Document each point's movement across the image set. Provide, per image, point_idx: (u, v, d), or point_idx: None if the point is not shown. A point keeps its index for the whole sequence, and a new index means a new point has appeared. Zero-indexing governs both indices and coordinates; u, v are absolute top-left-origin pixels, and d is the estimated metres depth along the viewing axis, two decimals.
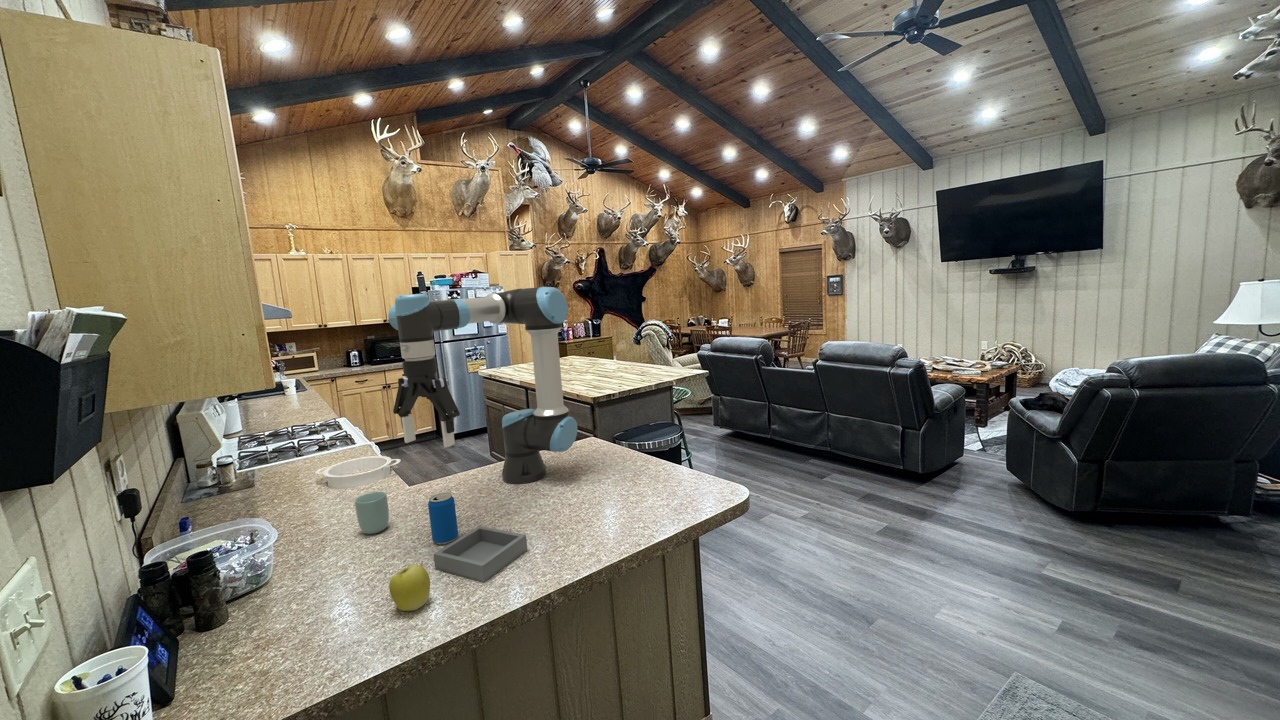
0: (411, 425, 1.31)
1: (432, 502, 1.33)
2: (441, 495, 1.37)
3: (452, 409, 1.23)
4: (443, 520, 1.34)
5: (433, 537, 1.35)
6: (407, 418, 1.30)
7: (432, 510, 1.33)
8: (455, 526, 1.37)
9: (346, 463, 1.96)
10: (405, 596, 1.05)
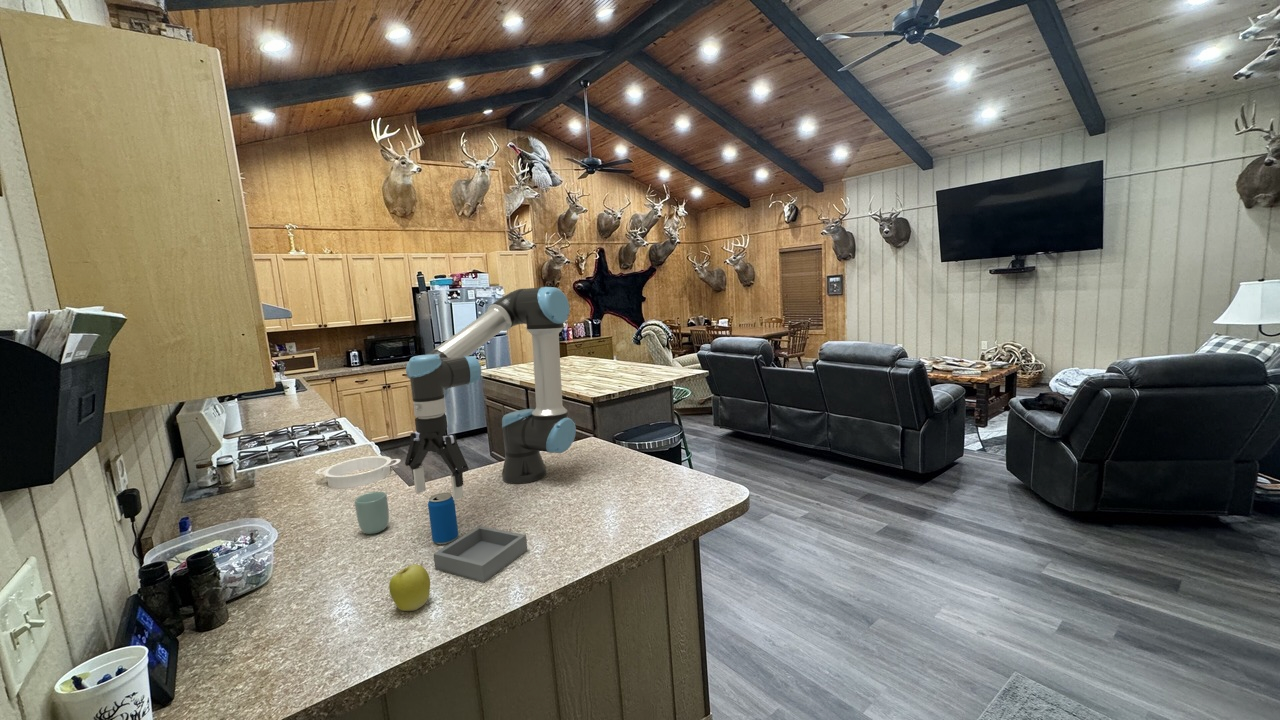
0: (422, 476, 1.38)
1: (432, 502, 1.33)
2: (441, 495, 1.37)
3: (462, 465, 1.30)
4: (443, 520, 1.34)
5: (433, 537, 1.35)
6: (418, 470, 1.37)
7: (432, 510, 1.33)
8: (455, 526, 1.37)
9: (346, 463, 1.96)
10: (405, 596, 1.05)
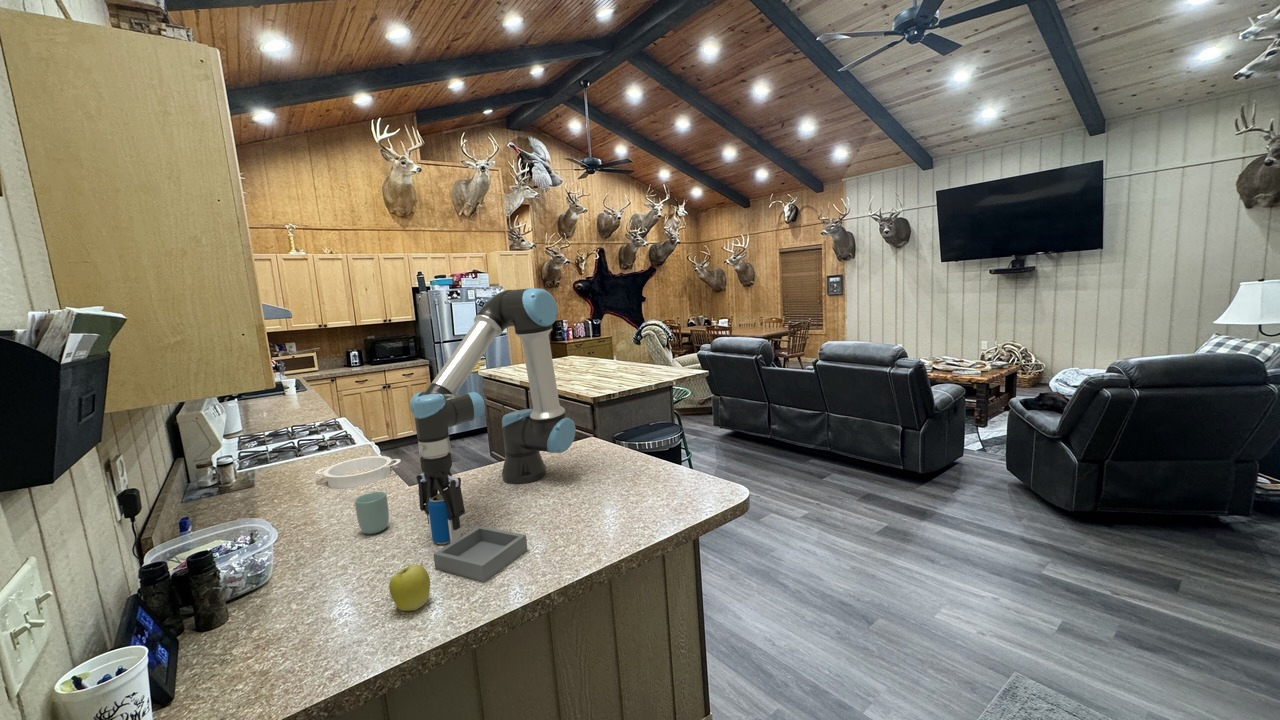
0: None
1: (432, 502, 1.33)
2: (441, 495, 1.37)
3: (460, 510, 1.33)
4: (443, 520, 1.34)
5: (433, 537, 1.35)
6: None
7: (432, 510, 1.33)
8: None
9: (346, 463, 1.96)
10: (405, 596, 1.05)
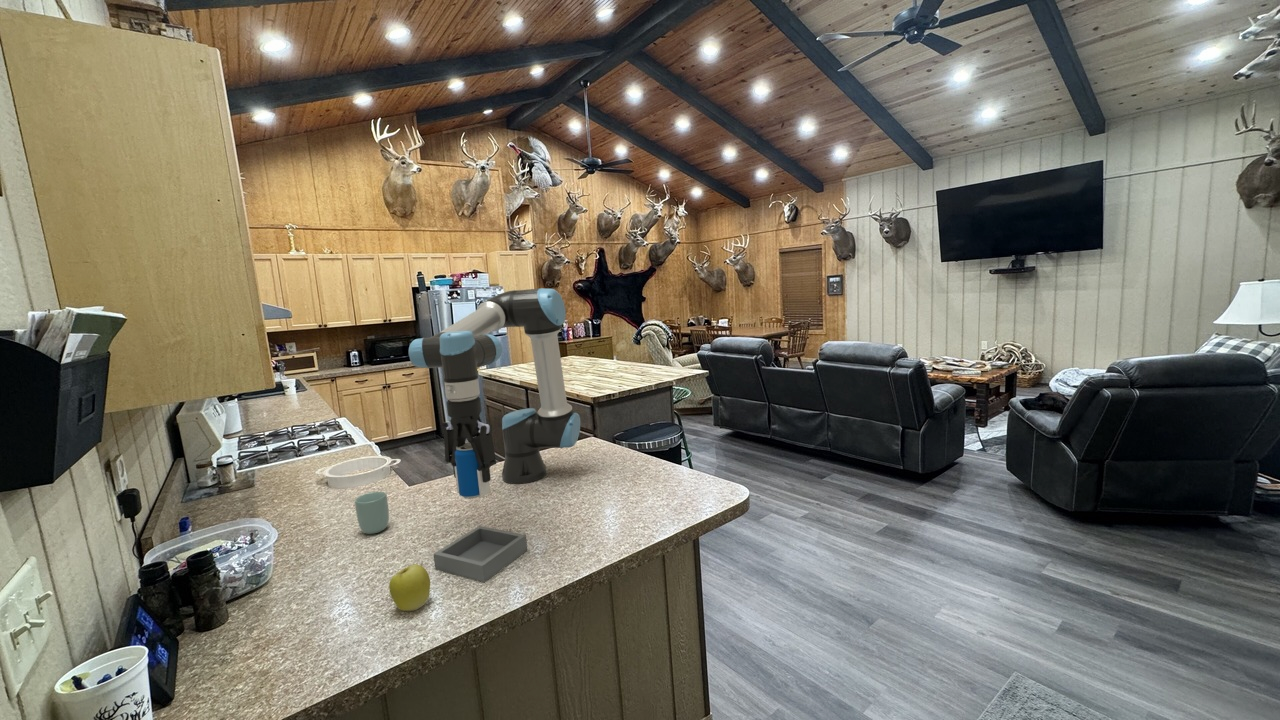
0: None
1: (460, 451, 1.20)
2: (469, 445, 1.24)
3: (491, 459, 1.19)
4: (472, 471, 1.20)
5: (460, 490, 1.21)
6: None
7: (460, 459, 1.19)
8: None
9: (346, 463, 1.96)
10: (405, 596, 1.05)
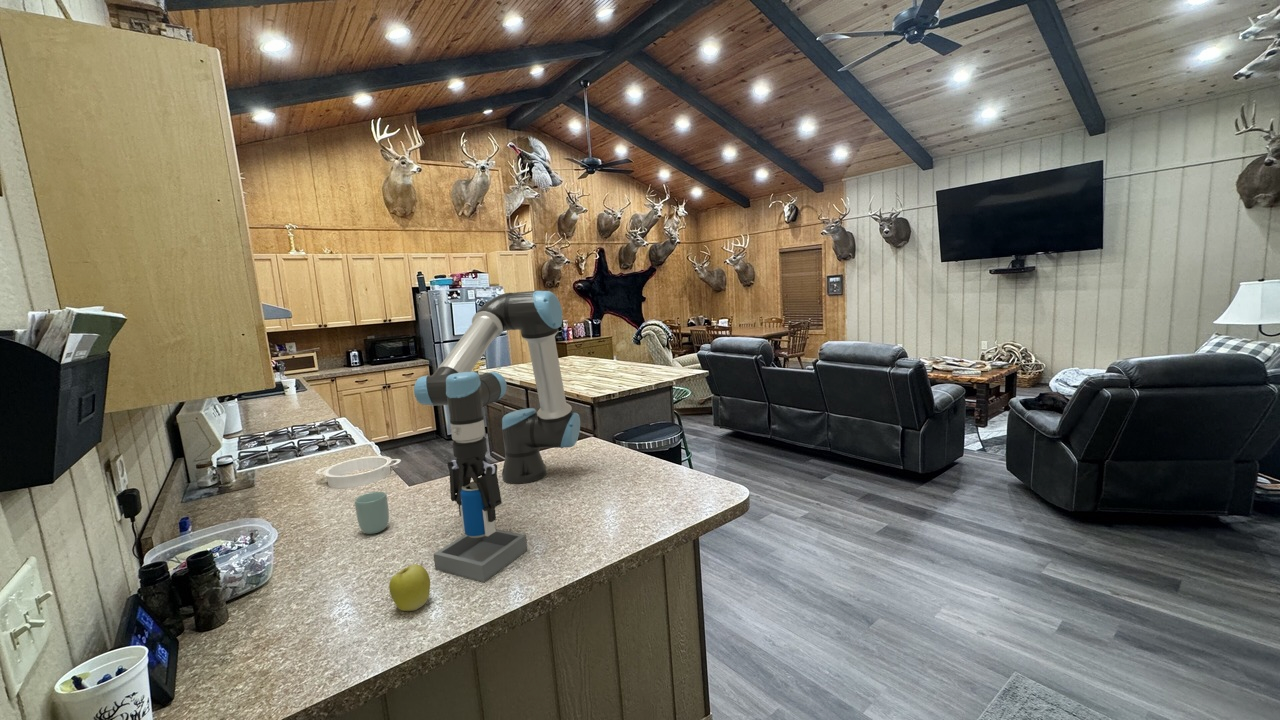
0: None
1: (465, 491, 1.21)
2: (474, 484, 1.25)
3: (496, 499, 1.20)
4: (477, 511, 1.21)
5: (466, 530, 1.22)
6: None
7: (466, 499, 1.21)
8: None
9: (346, 463, 1.96)
10: (405, 596, 1.05)
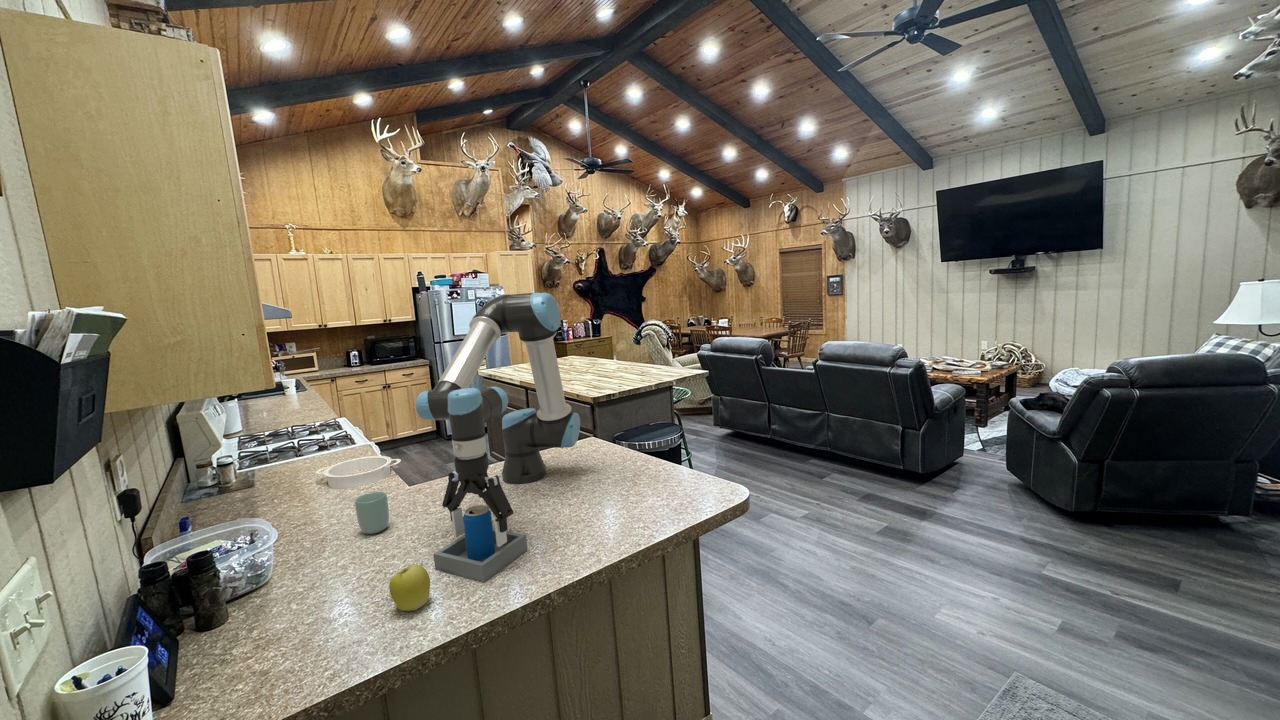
0: (460, 518, 1.28)
1: (468, 516, 1.22)
2: (477, 508, 1.26)
3: (506, 509, 1.20)
4: (480, 536, 1.22)
5: (468, 554, 1.24)
6: (457, 512, 1.27)
7: (468, 525, 1.22)
8: (492, 542, 1.25)
9: (346, 463, 1.96)
10: (405, 596, 1.05)
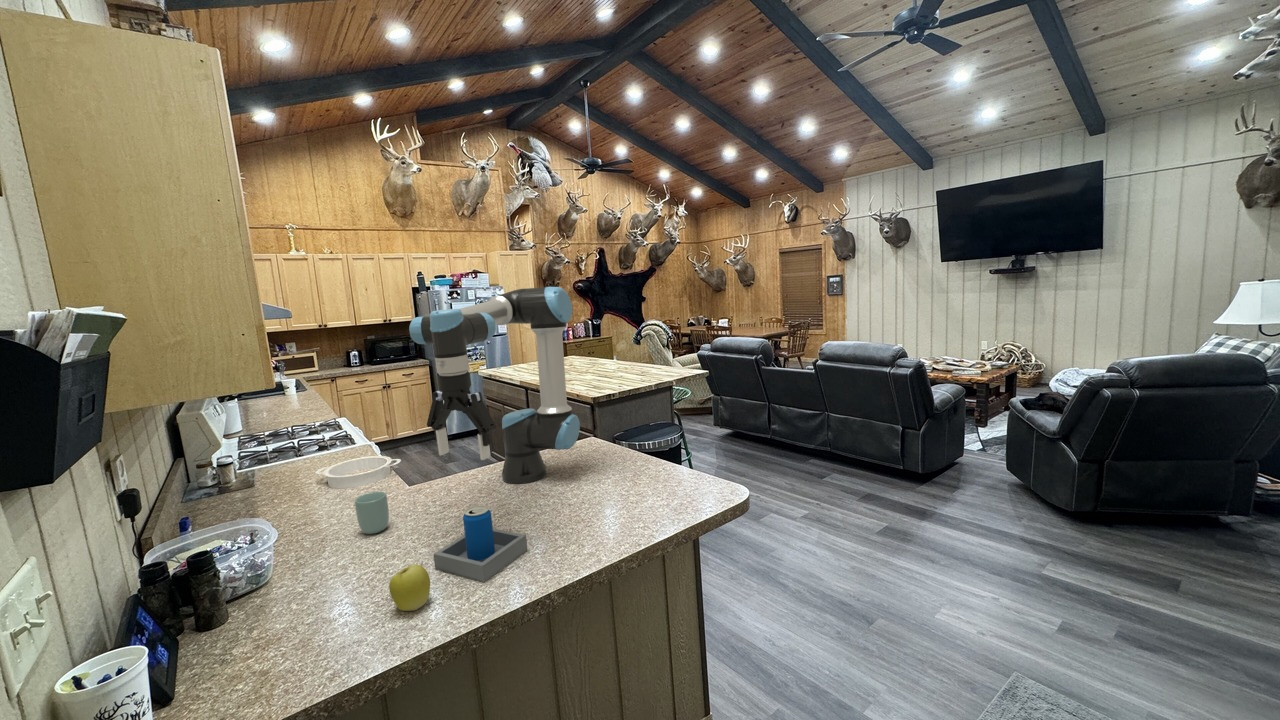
0: (445, 438, 1.33)
1: (468, 516, 1.22)
2: (477, 508, 1.26)
3: (489, 423, 1.25)
4: (480, 536, 1.22)
5: (468, 554, 1.24)
6: (441, 431, 1.32)
7: (468, 524, 1.22)
8: (492, 542, 1.25)
9: (346, 463, 1.96)
10: (405, 596, 1.05)
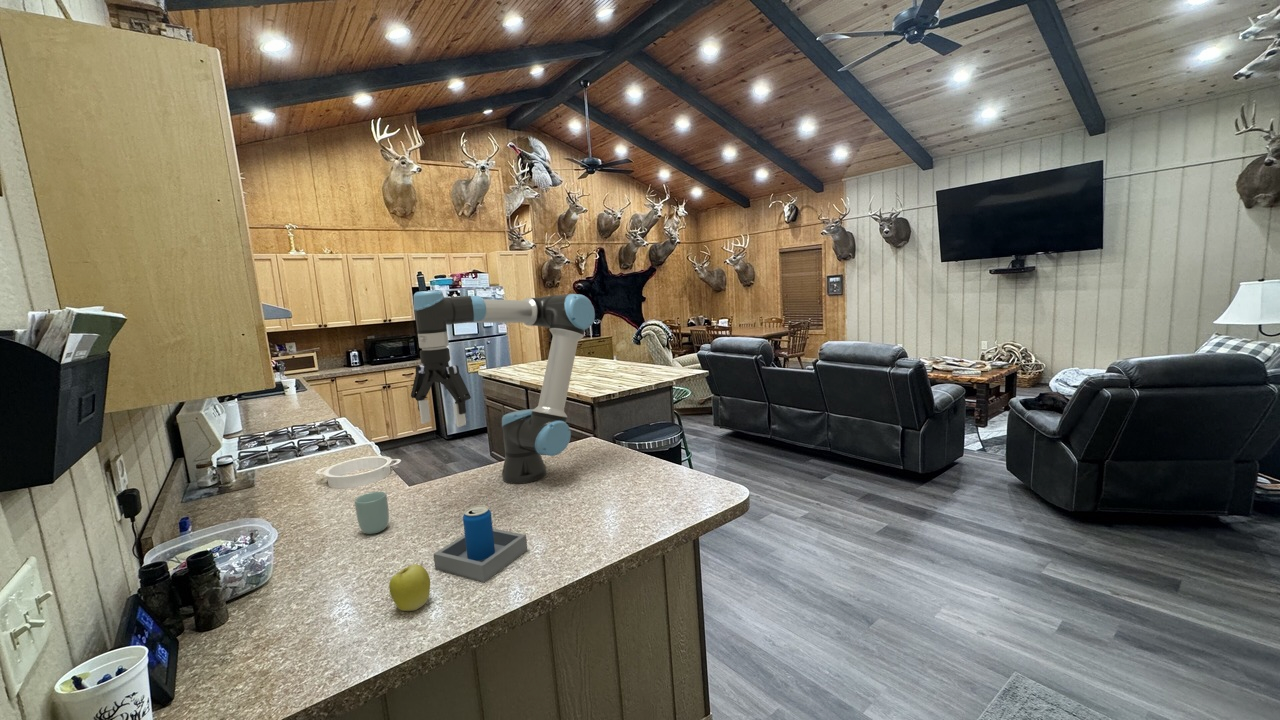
0: (427, 408, 1.47)
1: (468, 516, 1.22)
2: (476, 508, 1.26)
3: (464, 393, 1.38)
4: (480, 536, 1.22)
5: (468, 554, 1.24)
6: (423, 402, 1.46)
7: (468, 524, 1.22)
8: (492, 542, 1.25)
9: (346, 463, 1.96)
10: (405, 596, 1.05)
